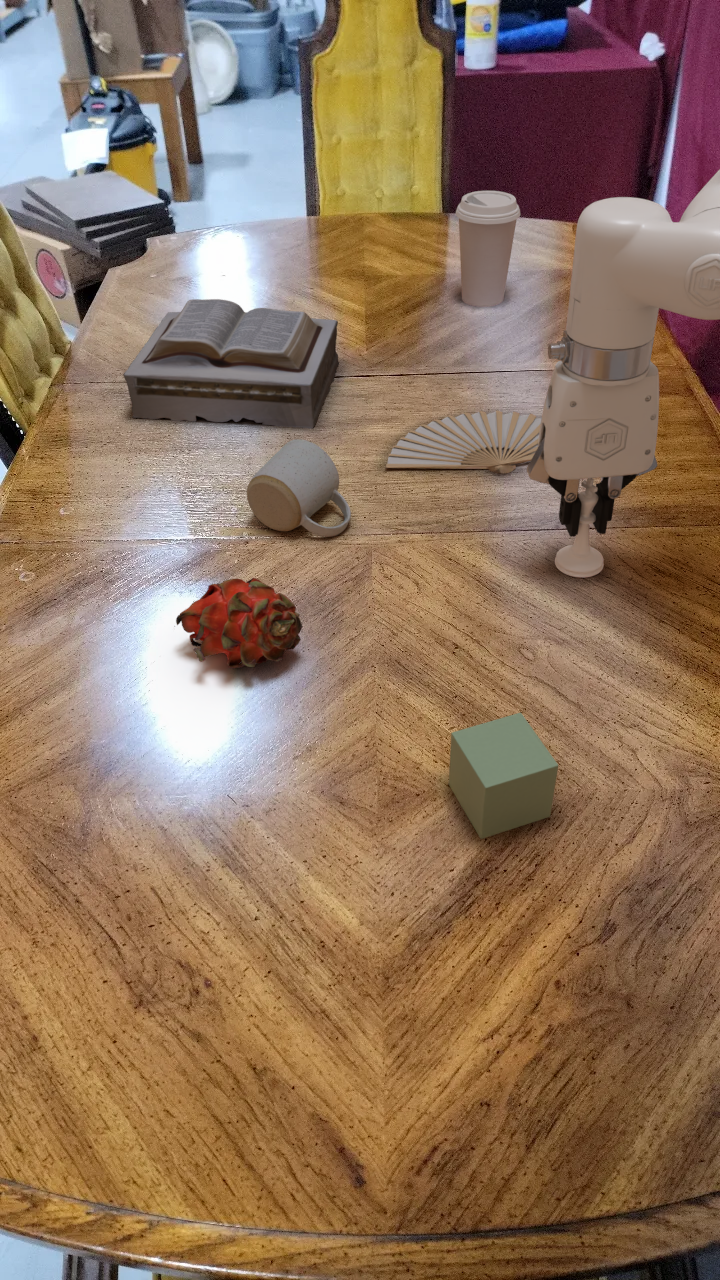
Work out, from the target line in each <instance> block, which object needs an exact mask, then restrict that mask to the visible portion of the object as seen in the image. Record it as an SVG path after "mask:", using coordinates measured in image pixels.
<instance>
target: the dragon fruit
mask: <svg viewBox="0 0 720 1280" xmlns="http://www.w3.org/2000/svg"><path fill="white" fill-rule="evenodd" d="M296 610H297V607H296V605H295V603H294V602H293V601H292V600H291V599H290V598H289V597H287V596H286V595H285V594H283V593H281V592H277V593H276V591H275V589H274V587H273V586H270V585H268V584H266V583H265V582H263V581H261V580H260V579H258V578H255V577H252V578H251V579H249V580H247V581H245V580H243V579H241V578H230V579H226V580H224V581H222V582H220V583H218V582H217V583H212V584H211V583H210V584H209V585H208V587H207V590H206V591H205V593H204V594H203V595H202V596H201V597H200V599H197V600H195V601H193V602H192V603H191V604H190V605H189V607H187V608H185V609H184V610H183V611H181V612H180V613H179V614H178V615H177V617H176V619H175V623H176V626H179V624H181V626H182V629H183V631H185V632H186V633H188V634H189V637H188V638H189V642H190V644H191V645H192V646H193V647H194V648H193V652H194V653H195V654H196V658H198V661H199V662H204V661H206V658H207V657H211V656H215V655H219V654H224V655H226V658H227V661H226V664H227V667H229V669H232V670H233V669H237V668H243V667H245V666H246V667H248V668H255V667H256V665H259V664H263V663H267V662H268V661H273V662H279V661H281V660H282V661H283V659H284V658H283V657H284V654H285V651H289V650H295V648H296V647H297V646H298V645H299V643H300V641H301V640H302V639H301V637H300V635H299V634H300V633H301V631H302V629H303V627H304V626H303V624H302V622H301V621H302V620H301V618H300V613H298V612H297V611H296ZM175 623H174V624H175ZM176 626H175V625H174V627H173V631H174V630H175V627H176ZM198 641H200V642H201V643H200V642H198ZM198 647H199V648H198Z"/></svg>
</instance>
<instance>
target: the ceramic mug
mask: <svg viewBox="0 0 720 1280" xmlns="http://www.w3.org/2000/svg"><path fill="white" fill-rule="evenodd" d="M339 487H340V474H339V471H338V469H337V466H336V464H335V462H334V460H333V459H332V457H331V456H330V455H329V454H328V453H327V451H325V450H324V449H322V447H320V445H318V444H316V443H314V442H312V441H310V440H307V439H301V438H299V439H298V438H297V439H292V440H290V441H288V442H286V443H285V444H284V445H283V446H282V447H281V448H280V449H279V450H278V451H276V453H275V454H274V455H273V456H272V457H271V458H270V459H269V460H268V461H267V462H266V463H265V464H263V466H262V467H260V469H258V471H256V472H255V474H254V475H253V477H252V478H251V479H250V481H249V483H248V485H247V488H246V499H247V504H248V506H249V508H250V510H251V512H252V513H253V514H254V516H255V517H256V518H257V520H258V521H260V522H261V523H262V524H263V525H264V526H266V527H268V528H269V529H272V530H274V531H278V532H290V531H292V530H294V529H297V528H298V527H300V526H302V527H303V528H304V529H305V530H306V531H308V532H309V533H312V534H314V535H316V536H318V537H324V538H330V537H331V538H332V537H336V536H338V535H341V533H343V532H344V531H345V530H346V528H347V527H348V524H349V523H350V521H351V519H352V511H351V508H350V505H349V503H348V501H347V500H346V499H345V497H344V496H343V495H342V494H341V493H340V492H339ZM330 501H332V502H333V503H334V504H335V506H337V507H338V509H339V510H340V511H341V513H342V515H343V517H344V518H343V519H344V520H343V521H342V522H341V523H340V524H337V525H334V526H325V525H322V524H320V523H318V522H316V521H314V520H313V519H311V517H312V516H313V515H314V514H316V513H317V512H318V511H319V510H321V508H323V507H324V506H325V505H326V504H328V502H330Z"/></svg>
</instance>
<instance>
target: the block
mask: <svg viewBox="0 0 720 1280" xmlns="http://www.w3.org/2000/svg"><path fill="white" fill-rule="evenodd" d="M449 749H450V752H449V754H450V755H449V765H448V767H449V768H448V786H449V787H450V789H451V791H452V793H453V794H454V796H455V798H456V800H457V801H458V803H459V805H460V807H461V808H462V810H463V811H464V813H465V815H466V817H467V818H468V821H469V822H470V824H471V825H472V827H473V829H474V830H475V832H476V833H477V835H478V837H479V839H480V840H483V839H486V838H488V837H492V836H495V835H498V834H502V833H504V832H507V831H510V830H513V829H516V828H519V827H523V826H525V825H529V824H532V823H536V822H538V821H541V820H544V819H547V818H550V817H551V814H552V808H553V802H554V795H555V789H556V783H557V777H558V770H559V764H558V762H557V760H556V759H555V758H554V757H553V755H552V754H551V753H550V751H549V750H548V748H547V747H546V745H545V744H544V743H543V741H542V740H541V739H540V737H539V735H538V734H537V733H536V732H535V730H534V729H533V727H532V726H531V724H530V723H529V721H528V720H527V719H526V718H525V716H524V715H523V713H522V712H517V713H514V714H511V715H510V714H509V715H507V716H504V717H501V718H497V719H493V720H490V721H487V722H483V723H480V724H476V725H473V726H470V727H466V728H462V729H459V730H455V731H452V732H451V734H450V748H449Z"/></svg>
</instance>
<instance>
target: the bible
mask: <svg viewBox="0 0 720 1280" xmlns="http://www.w3.org/2000/svg"><path fill="white" fill-rule="evenodd" d="M338 324H339V321H338V320H337V319H326V318H313V317H310V315H308V313H307V312H305V311H295V310H285V309H276V308H270V307H257V308H256V307H255V308H253V309H250V310H248V311H247V312H246V311H245V310H244V309H243V308H242V307H241V305H239V304H238V303H237V302H234V301H231V300H227V299H222V298H221V299H220V298H210V299H209V298H208V299H207V298H206V299H199V298H196V299H195V298H193V299H192V298H191V299H188V300H187V301H186V303H185V305H184V306H183V308H182V309H181V311H168V312H167V313H166V314H165V316H164V317H163V318H162V319H161V320H160V322H159V324H158V325H157V326H156V327H155V329H154V331H153V332H152V334H151V335H150V337H148V340H147V342H145V343H144V345H143V347H142V348H141V349H140V351H139V352H138V353H137V355H136V356H135V358H133V360H132V362H131V363H130V364H129V365H128V368H127V369H126V370H125V372H123V378H124V380H125V383H126V386H127V390H128V395H129V398H130V402H131V412H132V418H133V419H134V418H137V419H139V418H141V419H148V420H159V419H163V418H165V419H169V420H170V421H175V422H182V421H187V422H197V417H199V418H202V419H204V420H206V421H207V422H213V423H225V422H228V421H231V420H232V421H234V422H235V423H237V422H240V421H241V420H242V419H246V420H249V421H254V422H255V423H256V424H259V423H260V424H261V423H262V424H261V425H263V426H275V427H285V428H299V429H300V428H302V429H311V430H312V429H314V427H315V426H316V425H317V421H318V419H319V416H320V413H322V410H323V405H324V404H325V401H326V398H327V396H328V394H330V391H331V389H332V387H331V384H332V383H333V382H334V381H335V377H336V373H337V369H338V367H339V365H340V362H339V354H338V353H337V349H336V346H337V338H338Z"/></svg>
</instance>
